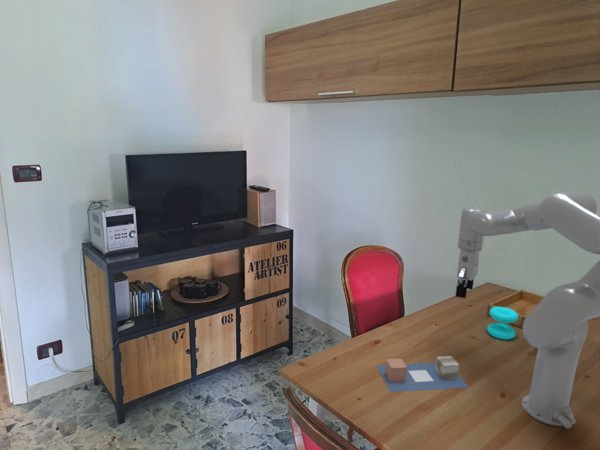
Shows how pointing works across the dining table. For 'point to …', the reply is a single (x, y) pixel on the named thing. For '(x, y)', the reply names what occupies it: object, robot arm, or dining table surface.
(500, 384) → the dining table surface
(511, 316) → the donuts
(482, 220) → the robot arm
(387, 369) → the terracotta block
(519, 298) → the tray
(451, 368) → the cream block
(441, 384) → the board
